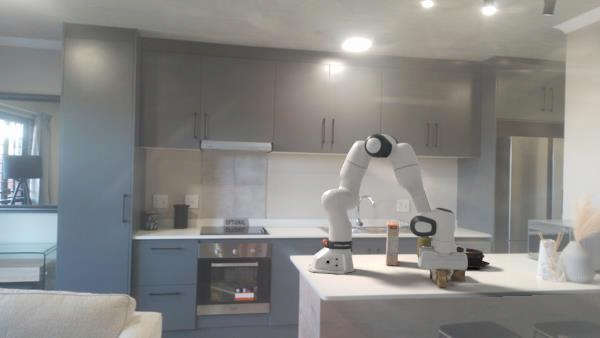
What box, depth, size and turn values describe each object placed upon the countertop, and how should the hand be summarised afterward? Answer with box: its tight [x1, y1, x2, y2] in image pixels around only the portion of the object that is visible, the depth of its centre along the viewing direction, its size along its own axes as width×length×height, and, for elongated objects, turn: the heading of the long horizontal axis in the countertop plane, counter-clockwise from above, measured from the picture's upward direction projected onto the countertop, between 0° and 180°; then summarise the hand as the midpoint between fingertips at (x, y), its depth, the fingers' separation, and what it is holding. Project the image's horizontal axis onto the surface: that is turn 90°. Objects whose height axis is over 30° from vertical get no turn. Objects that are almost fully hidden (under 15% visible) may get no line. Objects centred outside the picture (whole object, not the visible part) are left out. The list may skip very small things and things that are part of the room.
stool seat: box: [429, 269, 466, 282], centre depth 187 cm, size 15×12×6 cm
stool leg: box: [431, 269, 447, 288], centre depth 177 cm, size 16×3×6 cm, turn 176°
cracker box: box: [385, 221, 400, 267], centre depth 215 cm, size 14×6×21 cm, turn 168°
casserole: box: [465, 247, 491, 270], centre depth 211 cm, size 25×19×8 cm
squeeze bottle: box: [416, 236, 432, 260], centre depth 224 cm, size 8×8×18 cm
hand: (442, 279), depth 173 cm, fingers open, 4 cm apart
